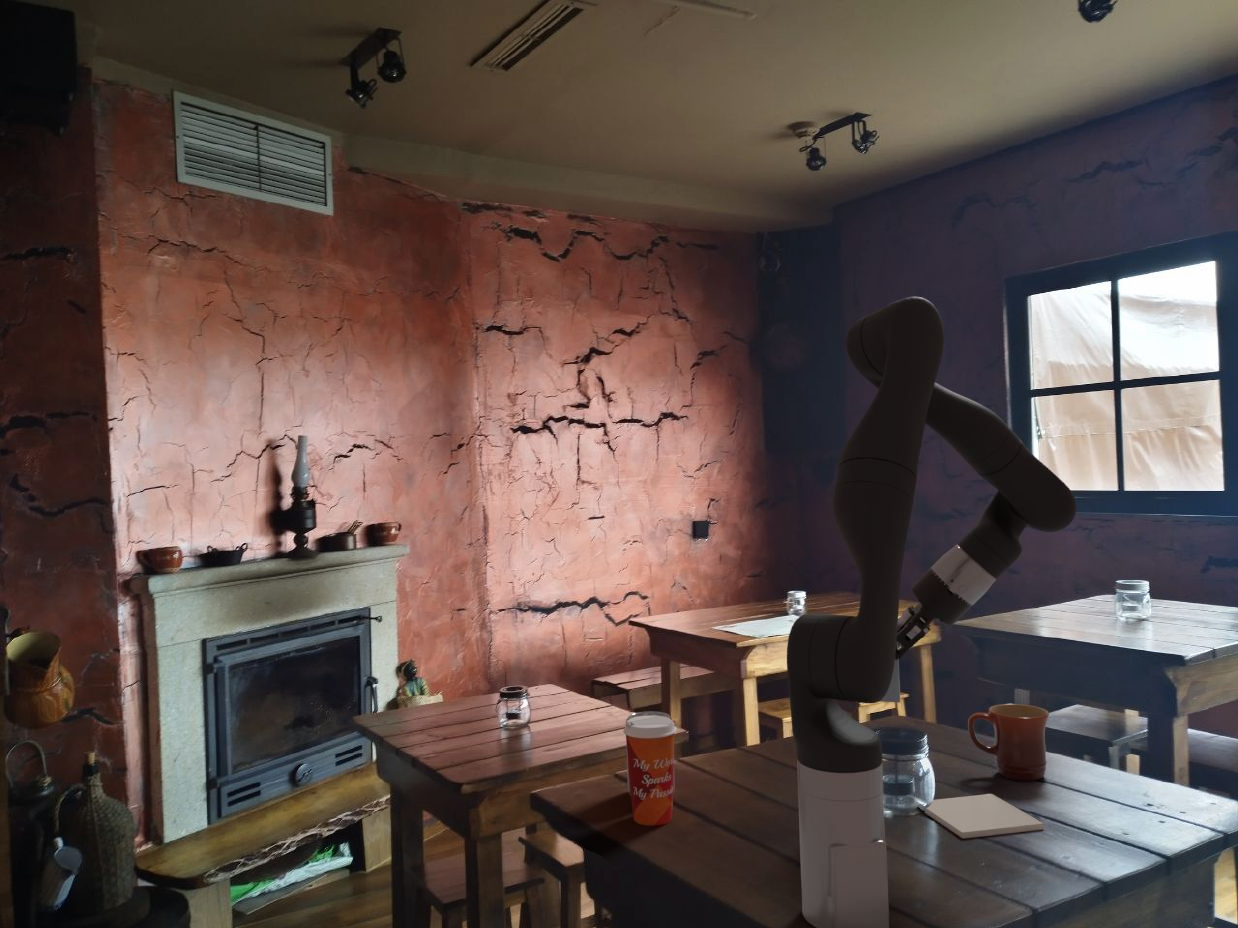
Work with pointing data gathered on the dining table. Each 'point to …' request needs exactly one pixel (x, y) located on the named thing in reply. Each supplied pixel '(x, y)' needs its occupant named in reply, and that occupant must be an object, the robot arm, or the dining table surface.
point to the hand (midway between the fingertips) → (869, 667)
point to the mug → (1015, 740)
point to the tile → (981, 816)
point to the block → (893, 685)
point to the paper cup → (651, 768)
